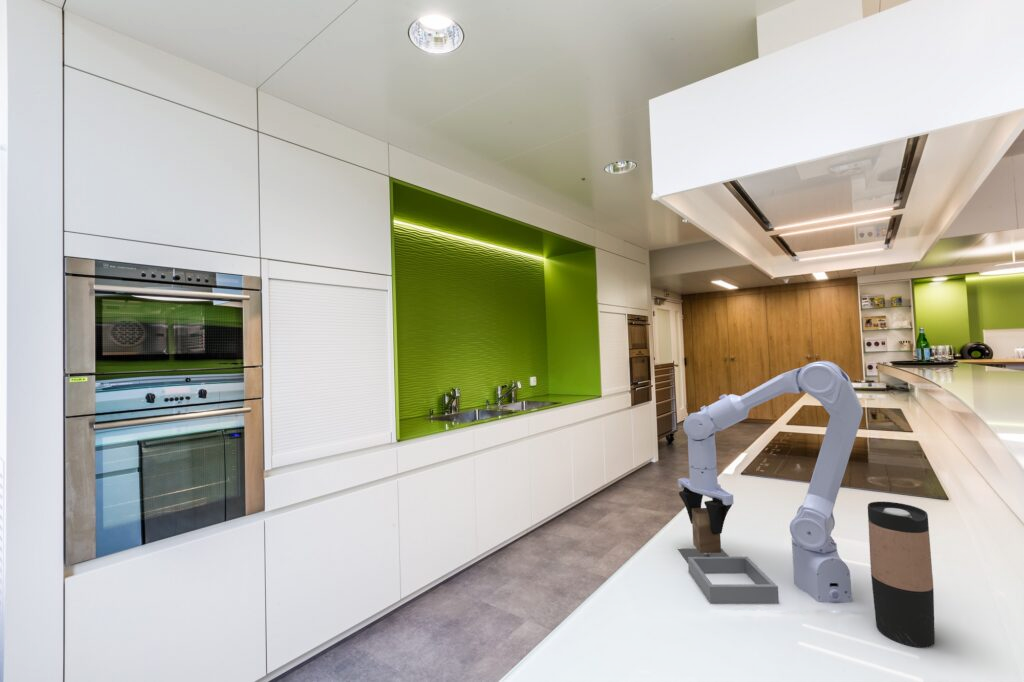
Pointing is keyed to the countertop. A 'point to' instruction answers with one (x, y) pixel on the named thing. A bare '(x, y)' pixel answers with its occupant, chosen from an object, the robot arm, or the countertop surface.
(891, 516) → the travel mug
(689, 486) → the robot arm
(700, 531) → the walnut strut
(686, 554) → the stud plate
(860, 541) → the countertop surface
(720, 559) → the charcoal bin
